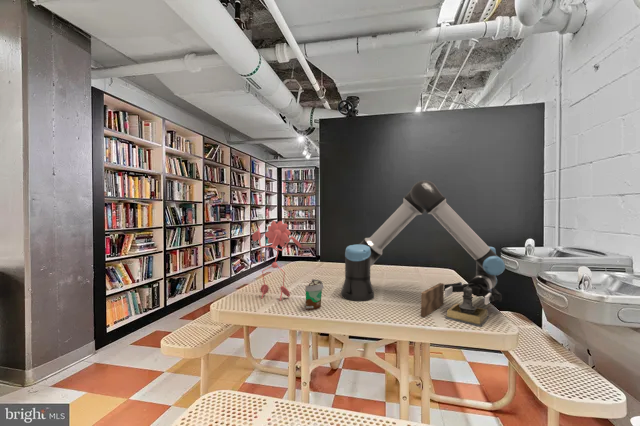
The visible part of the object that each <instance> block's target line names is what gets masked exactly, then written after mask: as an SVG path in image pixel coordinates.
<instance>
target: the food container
mask: <svg viewBox="0 0 640 426" xmlns="http://www.w3.org/2000/svg"><path fill="white" fill-rule="evenodd" d="M323 289H324V284H323V281H321V280H319V279H311V282H310V283H308V285H305V289H304V290H305V311H314V310H319V309H320V308H321V306H322V305H321V304H322V293H323Z"/></svg>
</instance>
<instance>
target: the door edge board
mask: <svg viewBox="0 0 640 426" xmlns="http://www.w3.org/2000/svg"><path fill="white" fill-rule="evenodd" d="M444 285H445V284H444V283H443V282H438V284H436V285H433V286H432V287H430V288H427V289H425V290H423V291H422V292H421V293H420V295H421V296H420V298H421V299H420V304H421V306H420V317H422V318H423V317H424V318H426V317H427V316H429V315H431V313H434V312H435V311H436V310H438V309H439V308H441V307H442V306H443V305H444V297H445V291H444Z"/></svg>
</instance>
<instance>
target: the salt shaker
mask: <svg viewBox="0 0 640 426" xmlns="http://www.w3.org/2000/svg"><path fill="white" fill-rule="evenodd" d="M468 286H469V285H467V287H464V290H463V292H462V294H463V295H462V304H461V303H460V304H461V305H459V307H460V310H461V312H462V313H467V314H471V315H472V314H473V313H474V312H475V309H476V307H477V306H474V305H473V299H474V297H473V294H472V289H471V288H470V287H468Z"/></svg>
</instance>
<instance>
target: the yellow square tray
mask: <svg viewBox="0 0 640 426" xmlns="http://www.w3.org/2000/svg"><path fill="white" fill-rule="evenodd" d="M459 305H461V303H455V304H454V305H452V306H451V307H449V308H448V309H447V311H446V316H445V319H447V320H449V321H450V320H451V321H455V322H458V323H459V322H460V323H464V324H467V325H471V326H475V327H481V328H482V327H483V325H484V324H485V323H486V322H487V321H488V320H489V318H490V315H488V309H487V308H482V307H477V306H475V307H476V309H475V312H474V313H473V314H472V315H471V314H467V313H462V312H461V310H460V307H459Z"/></svg>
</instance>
